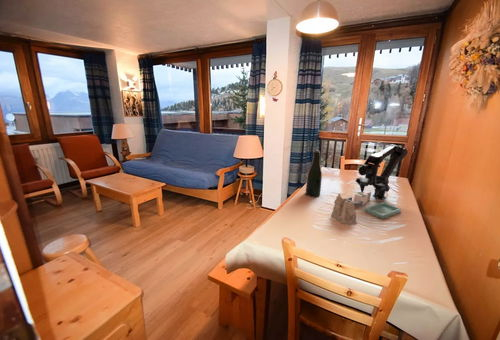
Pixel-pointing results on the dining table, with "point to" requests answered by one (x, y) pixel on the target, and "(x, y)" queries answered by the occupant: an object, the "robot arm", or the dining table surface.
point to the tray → (382, 210)
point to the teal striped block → (362, 197)
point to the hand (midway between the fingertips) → (368, 195)
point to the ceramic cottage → (344, 211)
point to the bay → (354, 202)
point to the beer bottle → (314, 176)
